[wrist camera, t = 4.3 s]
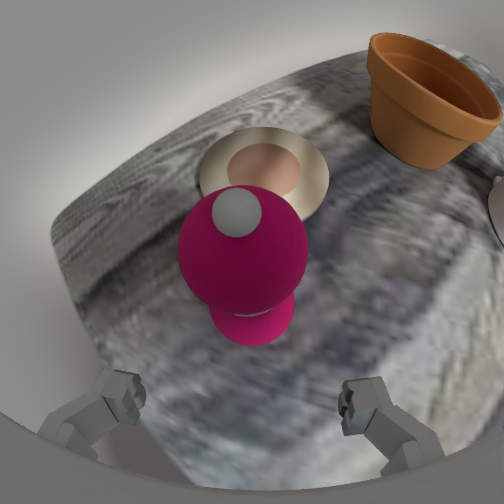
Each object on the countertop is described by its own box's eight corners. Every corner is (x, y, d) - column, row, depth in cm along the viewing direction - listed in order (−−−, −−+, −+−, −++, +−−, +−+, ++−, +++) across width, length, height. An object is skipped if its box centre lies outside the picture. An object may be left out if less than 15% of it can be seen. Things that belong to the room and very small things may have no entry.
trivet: (319, 134, 37) (320, 128, 36) (334, 232, 31) (337, 227, 29) (208, 134, 38) (207, 128, 36) (193, 232, 31) (190, 226, 30)
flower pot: (459, 213, 31) (516, 150, 18) (334, 148, 36) (356, 58, 22) (459, 134, 38) (490, 79, 25) (364, 86, 43) (380, 22, 29)
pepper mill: (286, 351, 26) (343, 319, 7) (213, 343, 26) (108, 290, 8) (292, 282, 29) (336, 135, 10) (223, 275, 29) (165, 127, 11)
